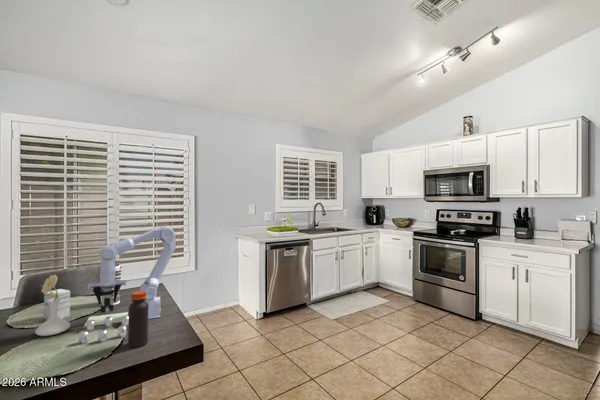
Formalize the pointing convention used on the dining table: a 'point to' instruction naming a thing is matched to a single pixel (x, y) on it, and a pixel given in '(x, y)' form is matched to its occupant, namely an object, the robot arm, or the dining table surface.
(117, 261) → the decorative candle
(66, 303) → the supplement box
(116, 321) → the sage mat
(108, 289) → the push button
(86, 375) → the dining table surface
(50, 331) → the flower in vase
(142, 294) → the bottle
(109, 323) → the spacer posts
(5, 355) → the dining table surface
